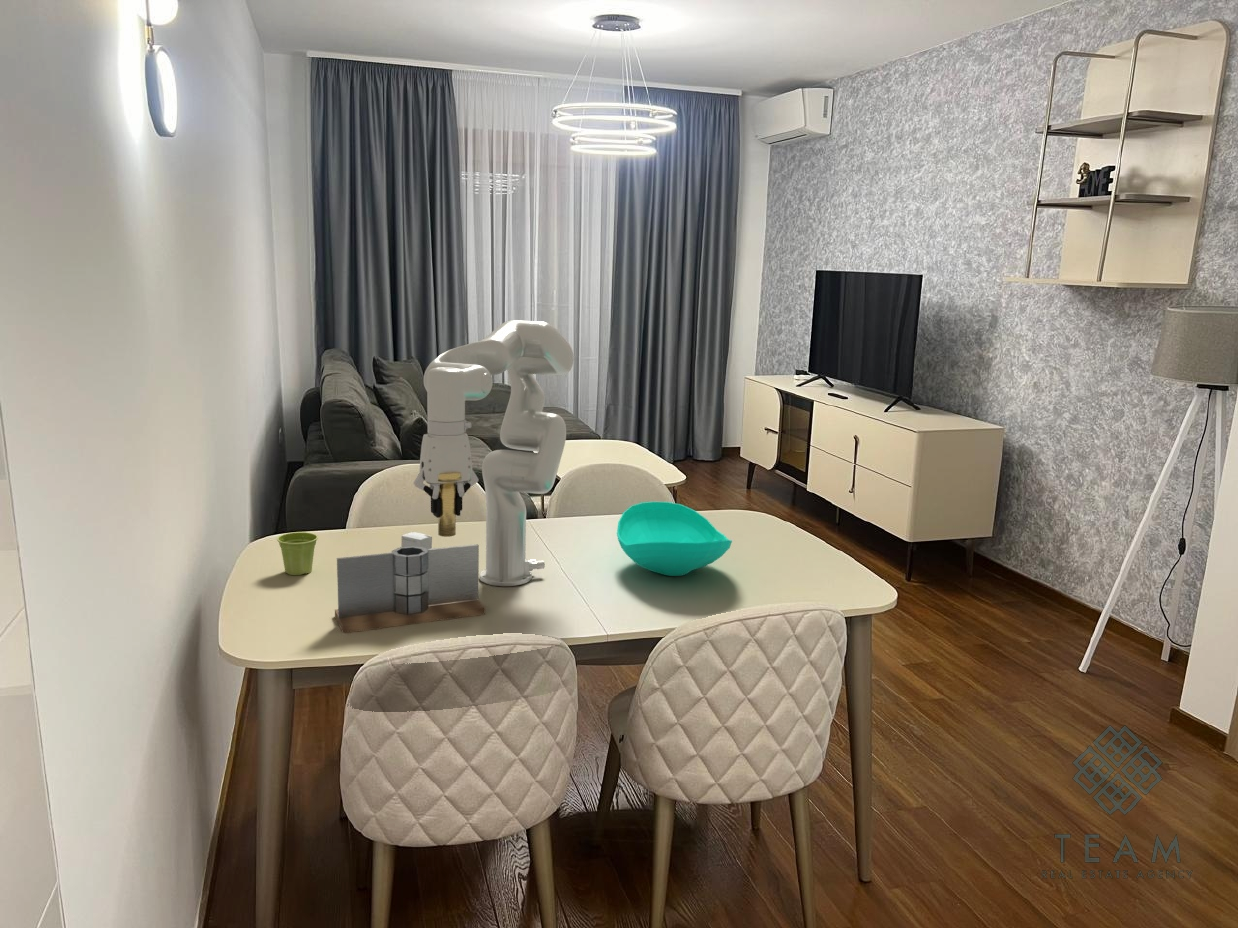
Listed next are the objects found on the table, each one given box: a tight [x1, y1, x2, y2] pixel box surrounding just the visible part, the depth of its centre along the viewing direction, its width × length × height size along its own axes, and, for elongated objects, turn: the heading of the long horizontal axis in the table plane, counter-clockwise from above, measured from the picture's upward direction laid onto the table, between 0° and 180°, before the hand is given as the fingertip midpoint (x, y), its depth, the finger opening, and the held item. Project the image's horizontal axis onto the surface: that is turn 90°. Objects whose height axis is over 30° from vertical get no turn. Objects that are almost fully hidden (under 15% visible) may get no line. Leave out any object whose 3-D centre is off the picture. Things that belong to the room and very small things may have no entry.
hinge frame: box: [336, 546, 429, 618], centre depth 199 cm, size 19×7×13 cm, turn 116°
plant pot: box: [276, 531, 319, 576], centre depth 227 cm, size 9×9×9 cm
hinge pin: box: [437, 473, 462, 538], centre depth 196 cm, size 6×6×14 cm
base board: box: [334, 599, 486, 634], centre depth 202 cm, size 30×10×2 cm, turn 116°
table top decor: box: [616, 501, 733, 577], centre depth 237 cm, size 40×28×13 cm
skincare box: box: [401, 531, 433, 551], centre depth 221 cm, size 6×4×12 cm
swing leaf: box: [394, 543, 480, 605], centre depth 203 cm, size 19×7×12 cm, turn 116°
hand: (446, 514), depth 196 cm, fingers closed on hinge pin, 3 cm apart
